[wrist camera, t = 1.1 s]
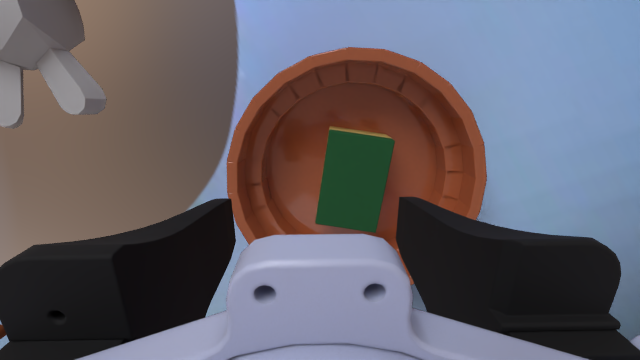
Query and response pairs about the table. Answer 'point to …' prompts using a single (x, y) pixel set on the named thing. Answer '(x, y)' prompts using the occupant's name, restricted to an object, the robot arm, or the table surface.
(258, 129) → the bowl
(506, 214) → the table surface
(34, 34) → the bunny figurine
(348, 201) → the sponge
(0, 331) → the magnifying glass
